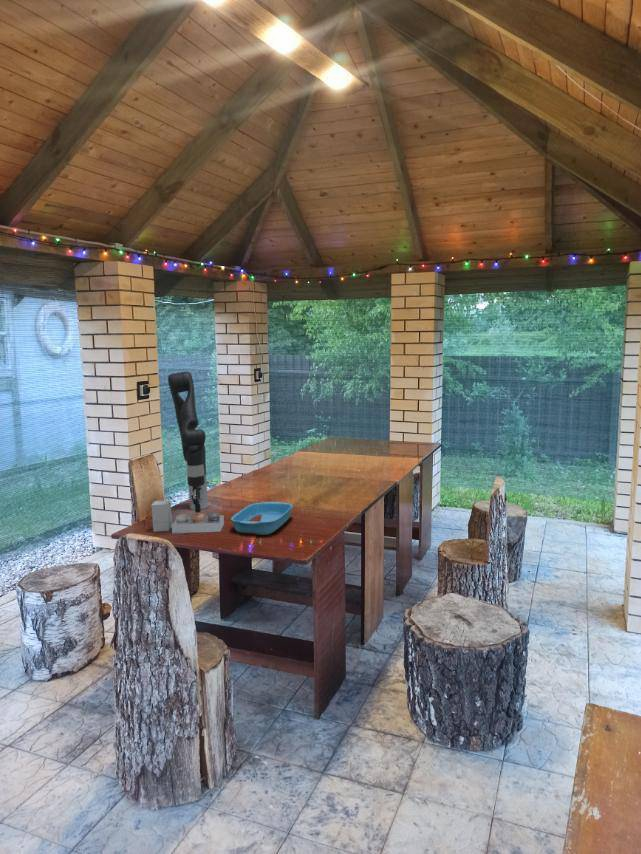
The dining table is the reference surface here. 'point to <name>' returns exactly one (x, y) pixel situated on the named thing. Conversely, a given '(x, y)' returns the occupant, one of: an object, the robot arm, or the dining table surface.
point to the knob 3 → (213, 516)
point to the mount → (198, 525)
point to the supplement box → (161, 515)
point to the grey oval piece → (182, 517)
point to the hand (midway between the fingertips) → (198, 512)
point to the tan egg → (198, 517)
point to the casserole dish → (262, 517)
